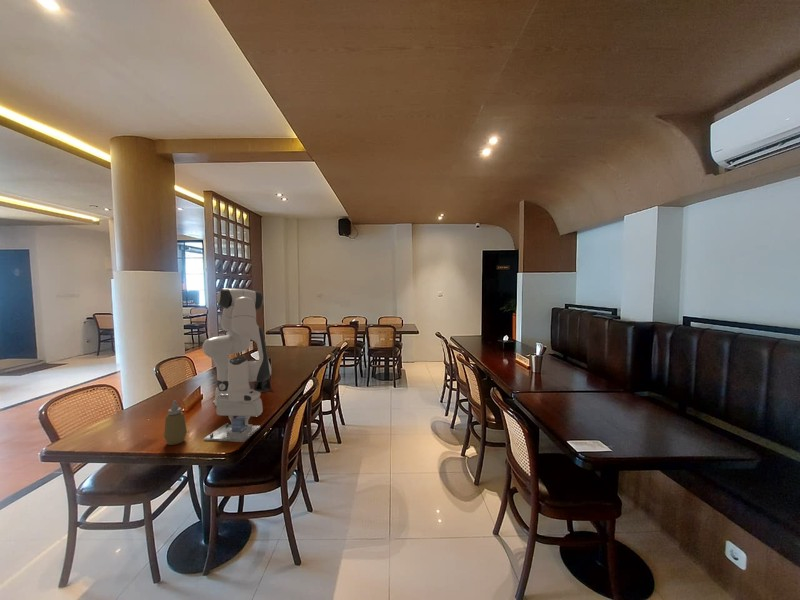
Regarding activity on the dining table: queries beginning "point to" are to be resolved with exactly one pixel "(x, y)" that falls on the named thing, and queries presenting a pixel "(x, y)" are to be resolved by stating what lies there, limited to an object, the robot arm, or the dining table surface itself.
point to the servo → (238, 423)
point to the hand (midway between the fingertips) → (239, 424)
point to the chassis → (232, 433)
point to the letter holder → (261, 386)
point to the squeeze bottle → (175, 425)
